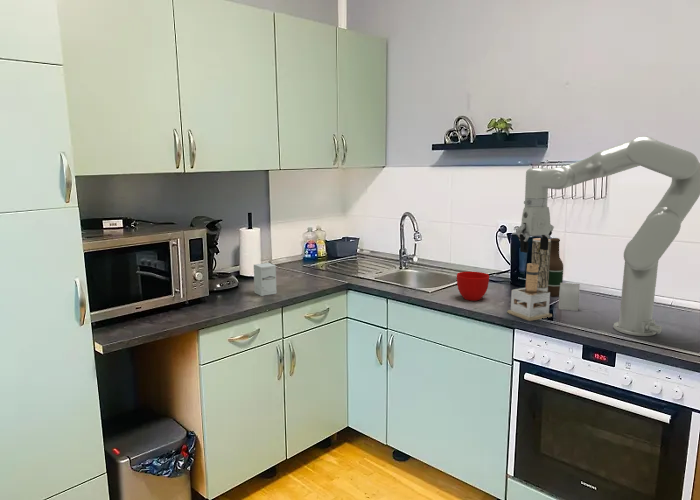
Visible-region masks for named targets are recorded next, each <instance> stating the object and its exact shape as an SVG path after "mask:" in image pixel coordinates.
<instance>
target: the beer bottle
mask: <svg viewBox="0 0 700 500" xmlns="http://www.w3.org/2000/svg"><path fill="white" fill-rule="evenodd" d="M550 239H551V248H550V263H549V279H548V292H550V297H553V298H554V297H557V298H558V297H559V291H560V283H564V282H563V280H564V279H563V277H564V263H563V261H562V259H561V258H560V241H561V239H560V238H559V237H552V238H550Z"/></svg>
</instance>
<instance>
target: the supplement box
mask: <svg viewBox="0 0 700 500" xmlns="http://www.w3.org/2000/svg"><path fill="white" fill-rule="evenodd" d="M253 281H254V282H253V283H254V284H253V286H254V288H253V289H254V290H253V291H254V293H255V294H256V295H257V296H259V297H264V296H270V295H276V294H278V293H277V265H276V264H273V263H270V262H266V263H257V264H253Z"/></svg>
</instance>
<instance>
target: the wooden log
mask: <svg viewBox="0 0 700 500" xmlns="http://www.w3.org/2000/svg"><path fill="white" fill-rule="evenodd" d="M541 238H542V237H539V238H538V237H537V238H532V247H531V263H535V264H539V269H538V283H537V289H540V290H543V291H547V292H548V279H549V263H550V248H551V239H552V238H550V239H549V240H548V250H542V249H540V239H541Z"/></svg>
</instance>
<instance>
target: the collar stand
mask: <svg viewBox="0 0 700 500" xmlns="http://www.w3.org/2000/svg"><path fill="white" fill-rule="evenodd" d="M525 288H526V287H519V288H515V289H511V296H510V309H508V310H507V312H506V313H507V314H509V315H512V316H515V317H517V318H520V319H523V320H525V321H528V322H532V321H537V320H538V321H539V320H543V319H548V318H551V317H553V313H550V302H551V301H550V298H551V296H550V292H547V291H543V290H540V289H537V293H535V294H529V293H525ZM525 302H526V303H527V307H526V306H524V303H525ZM534 303H536V307H533V304H534ZM547 317H548V318H547ZM542 318H543V319H542Z"/></svg>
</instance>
